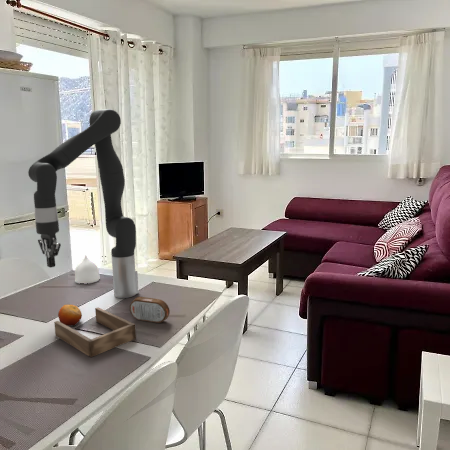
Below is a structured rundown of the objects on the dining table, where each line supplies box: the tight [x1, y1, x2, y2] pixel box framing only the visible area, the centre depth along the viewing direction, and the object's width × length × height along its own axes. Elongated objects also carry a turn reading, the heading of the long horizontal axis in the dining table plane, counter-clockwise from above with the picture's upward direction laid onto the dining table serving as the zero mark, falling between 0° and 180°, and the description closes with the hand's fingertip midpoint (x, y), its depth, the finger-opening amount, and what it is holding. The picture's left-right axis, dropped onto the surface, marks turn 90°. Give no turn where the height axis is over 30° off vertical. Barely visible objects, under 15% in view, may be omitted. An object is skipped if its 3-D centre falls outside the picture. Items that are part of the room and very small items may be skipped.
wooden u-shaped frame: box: [54, 307, 137, 358], centre depth 142 cm, size 16×22×5 cm
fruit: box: [57, 304, 83, 327], centre depth 153 cm, size 8×8×8 cm
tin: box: [129, 296, 171, 324], centre depth 154 cm, size 15×3×8 cm, turn 71°
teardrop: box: [74, 255, 101, 285], centre depth 200 cm, size 11×11×12 cm
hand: (51, 266), depth 157 cm, fingers closed
